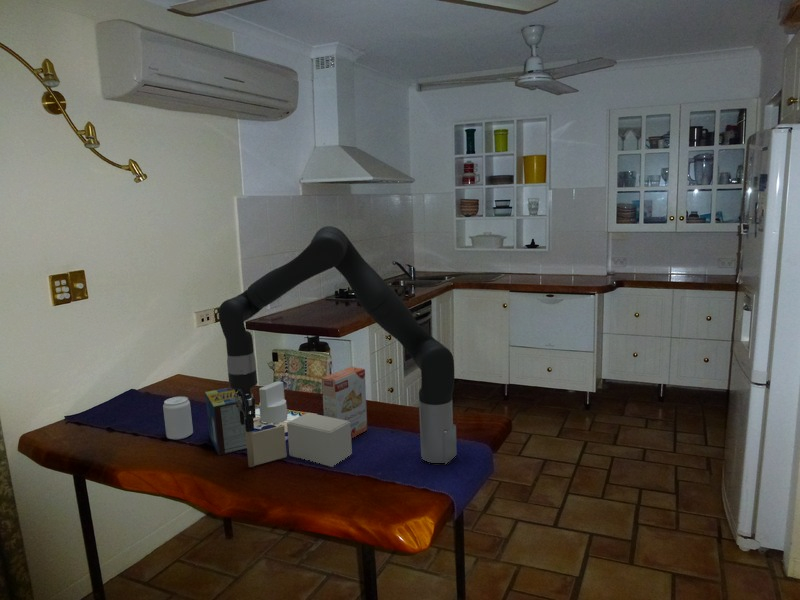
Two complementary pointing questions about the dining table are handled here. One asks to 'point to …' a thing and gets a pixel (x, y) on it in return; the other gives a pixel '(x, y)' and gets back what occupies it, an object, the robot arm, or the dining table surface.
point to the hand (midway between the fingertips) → (247, 427)
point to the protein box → (225, 421)
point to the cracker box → (346, 398)
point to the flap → (265, 445)
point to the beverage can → (177, 418)
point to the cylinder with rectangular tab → (273, 403)
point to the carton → (319, 439)
